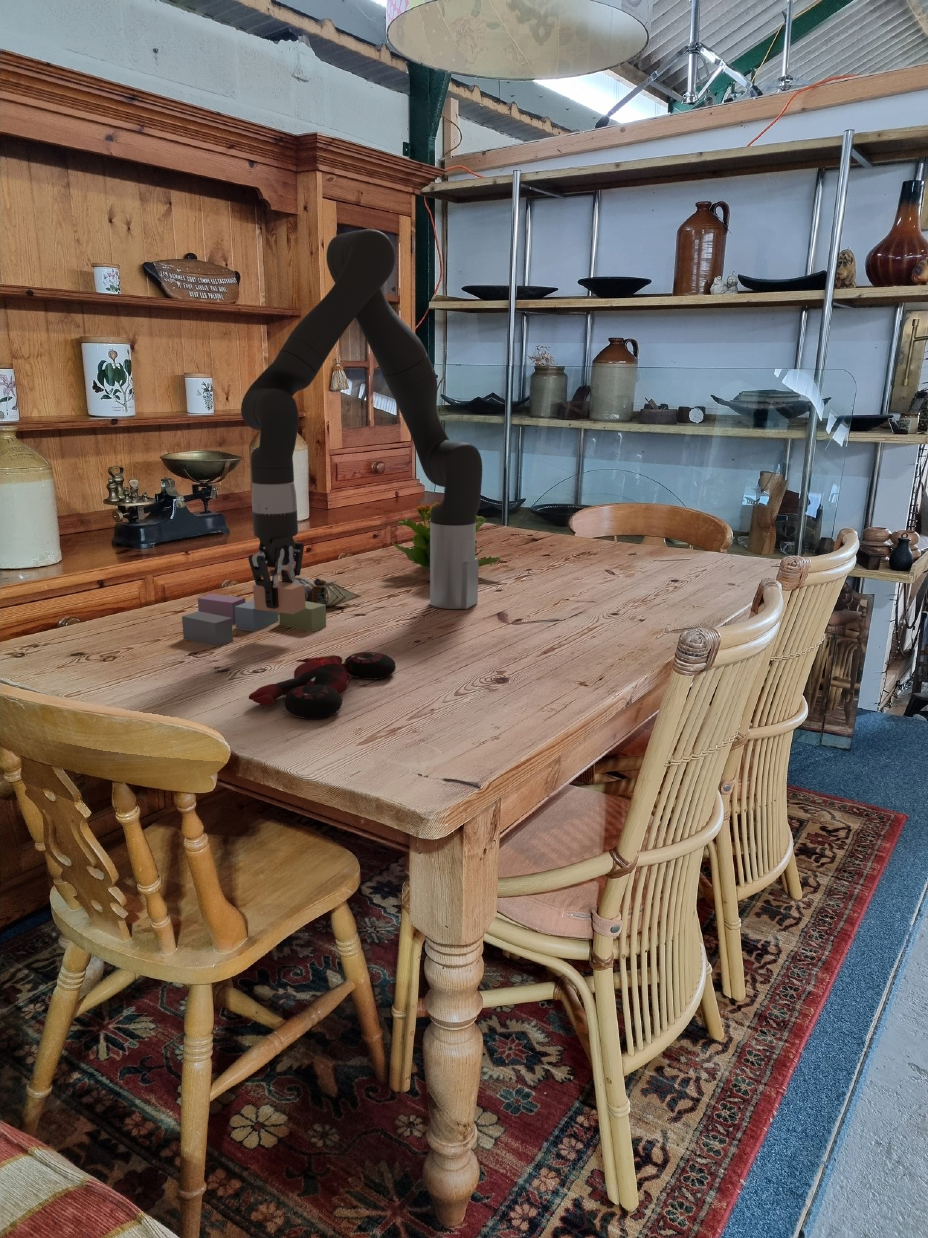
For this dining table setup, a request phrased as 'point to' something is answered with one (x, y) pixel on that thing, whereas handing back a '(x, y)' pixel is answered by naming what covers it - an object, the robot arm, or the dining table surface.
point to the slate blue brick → (253, 617)
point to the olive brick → (306, 617)
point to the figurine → (325, 592)
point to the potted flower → (422, 539)
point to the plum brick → (220, 605)
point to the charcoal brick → (207, 628)
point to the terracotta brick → (282, 598)
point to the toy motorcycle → (323, 683)
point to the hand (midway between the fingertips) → (280, 604)
